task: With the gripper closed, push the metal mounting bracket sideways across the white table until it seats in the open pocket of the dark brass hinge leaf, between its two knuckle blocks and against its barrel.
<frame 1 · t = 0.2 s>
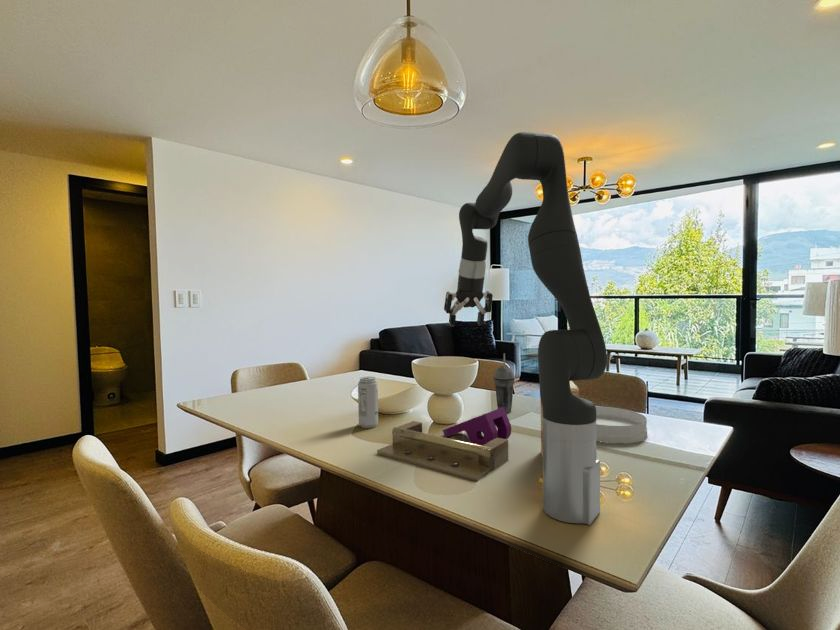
hand: (466, 325, 134), 31 cm above the table, tool tilted 20°, fingers open, 8 cm apart
mounting bracket: (473, 442, 122), on the table
coffeecake box: (558, 464, 104), on the table
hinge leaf: (442, 456, 110), on the table
dish: (604, 432, 128), on the table
energy drink can: (368, 426, 137), on the table
beverage cup: (504, 412, 152), on the table
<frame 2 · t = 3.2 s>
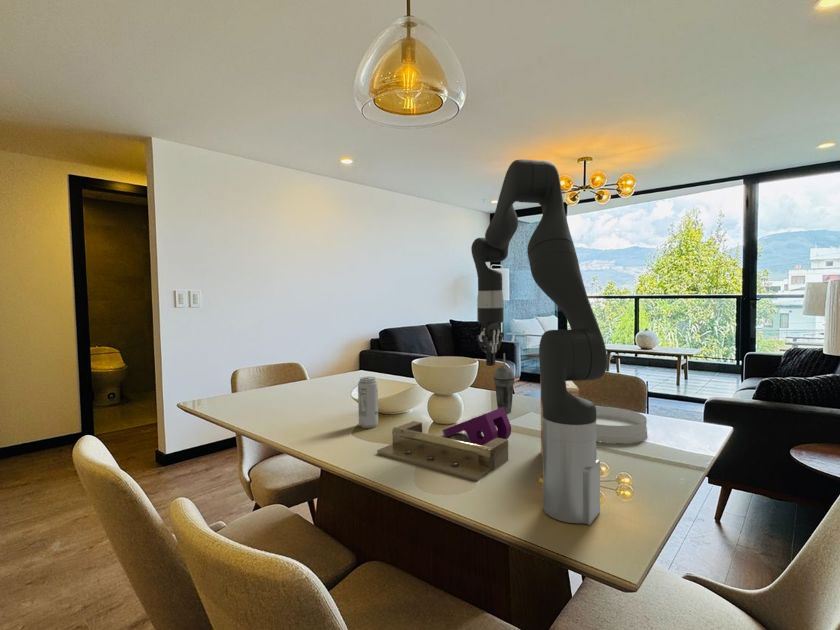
hand: (490, 365, 130), 19 cm above the table, tool pointing down, fingers closed
nothing on the table moved.
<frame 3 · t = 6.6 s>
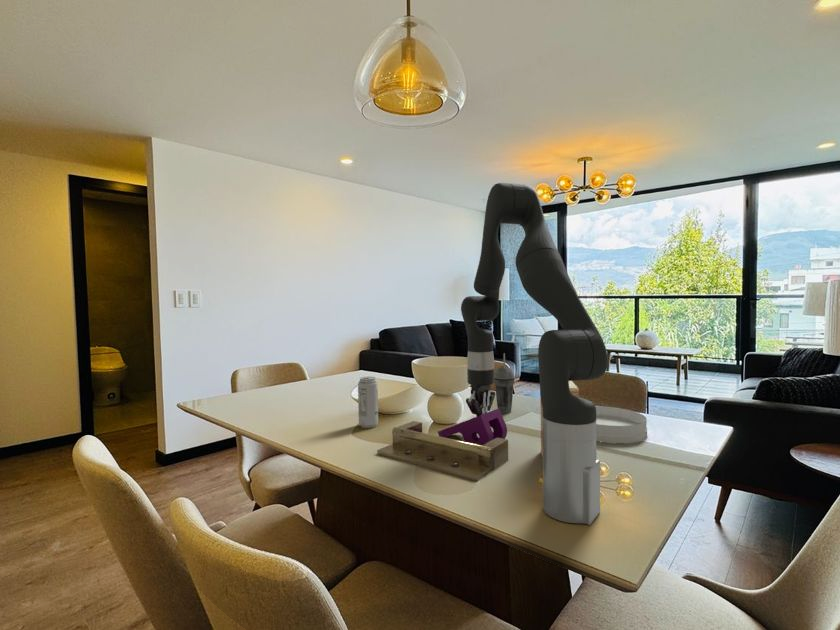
hand: (481, 427, 125), 3 cm above the table, tool pointing down, fingers closed
mounting bracket: (468, 443, 120), on the table, touching gripper
everything else where it was.
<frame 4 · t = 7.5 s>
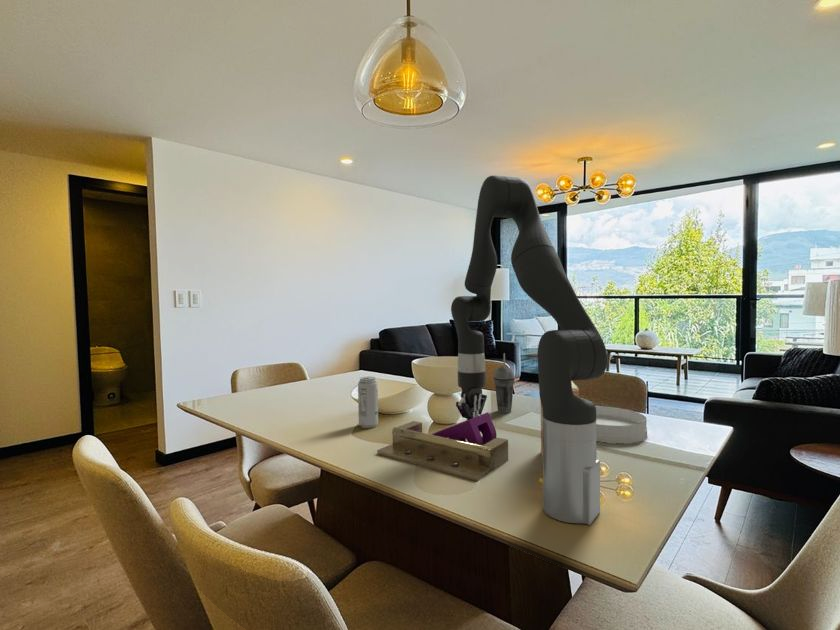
hand: (472, 432, 121), 3 cm above the table, tool pointing down, fingers closed
mounting bracket: (456, 449, 117), on the table, touching gripper
everything else where it was.
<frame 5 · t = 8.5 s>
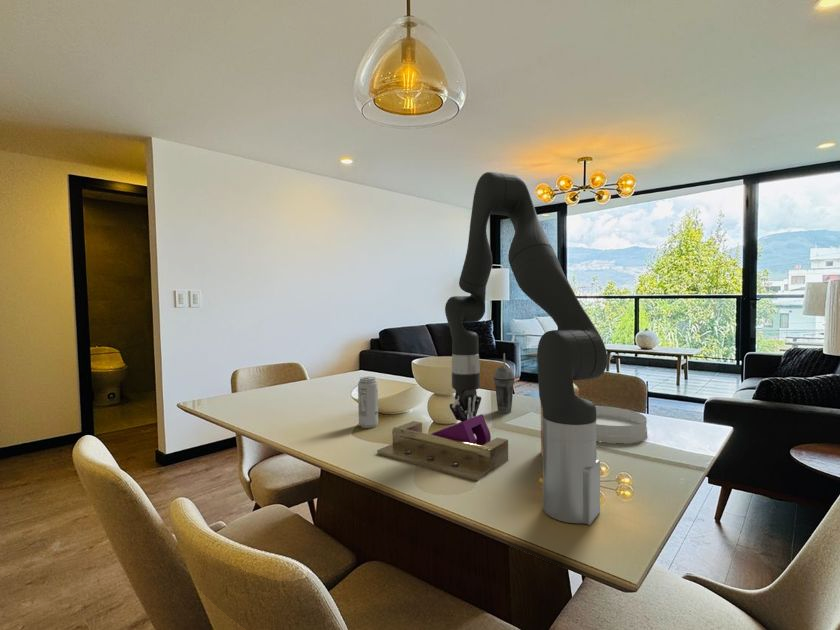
hand: (466, 434, 119), 3 cm above the table, tool pointing down, fingers closed
mounting bracket: (450, 451, 114), on the table, touching gripper
everything else where it was.
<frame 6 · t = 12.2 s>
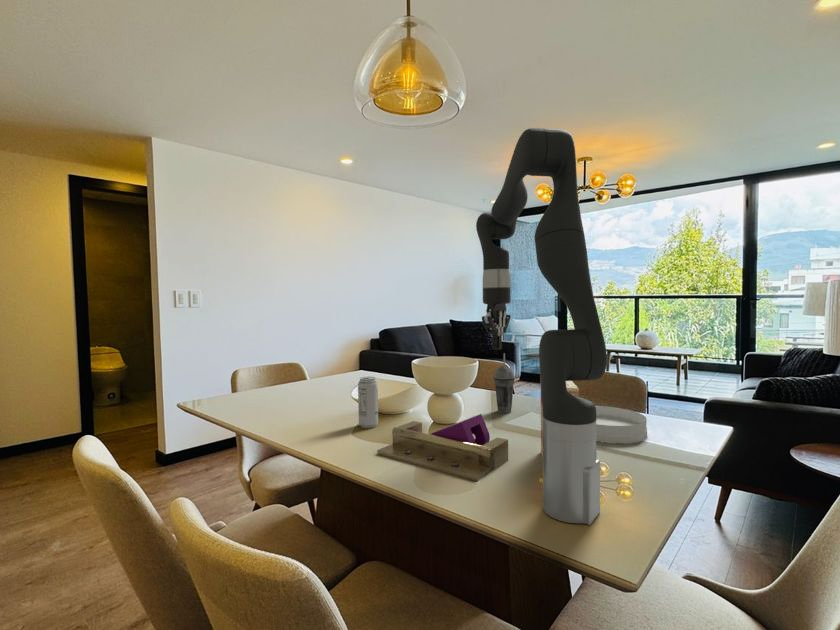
hand: (497, 349, 122), 25 cm above the table, tool pointing down, fingers closed
mounting bracket: (449, 451, 114), on the table
everything else where it was.
at the end: mounting bracket inside the target area on the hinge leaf (1.2 cm from its centre), point -0.5 cm above the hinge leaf's base; mounting bracket moved 10.1 cm from its start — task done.
